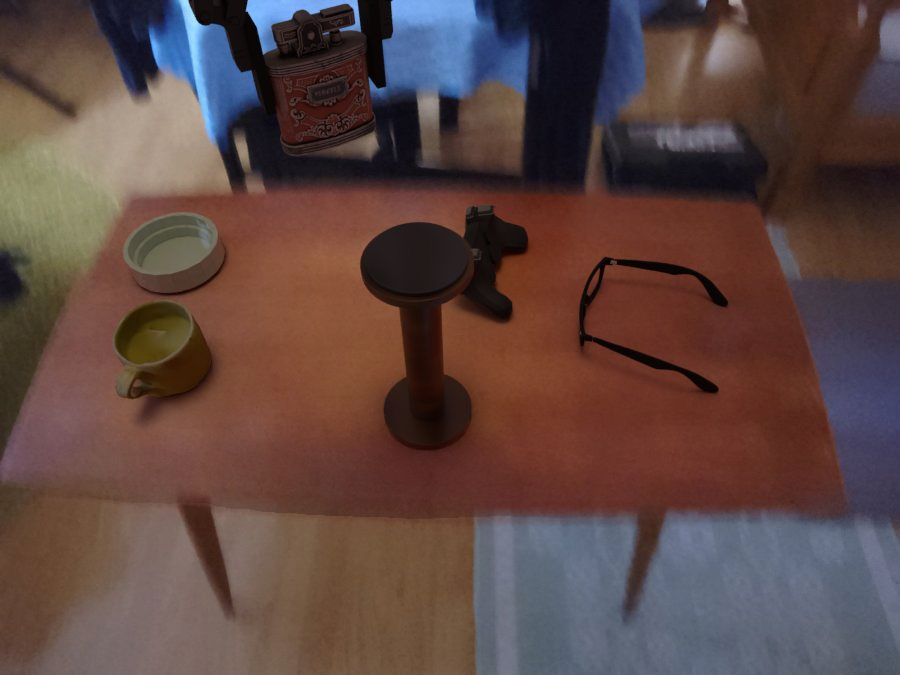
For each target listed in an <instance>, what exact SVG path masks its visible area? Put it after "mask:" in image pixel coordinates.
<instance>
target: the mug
mask: <svg viewBox="0 0 900 675" xmlns="http://www.w3.org/2000/svg"><path fill="white" fill-rule="evenodd" d="M111 342H112V349H113V353H114V355H115V356H116V357H117V359H118V360H119V362H120V363H121V364H122V365H123V366H124V369H122V371H120V372H119V374H118V375H117V377H116V379H115V389H116V395H117V396H118V397H120V398H122V399H128V400H136V399H140V398H143V397H144V396H146V395H147V396H151V397H156V398H157V397H160V398H161V397H168V396H172V395H175V394H182V393H183V394H184V393H185V392H189V391H190V390H192V389H193V388H195V387H197V386H198V385H199V384H200V382H202V380H203V379H204V378H205V377H206V376H207V374H208V372H209V371H210V367H211V364H212V354H211V351H210V350H211V349H210V347H209V344H208V343H207V342H208V341H207V340H206V337H205V335H204V334H203V331H202V329H201V326H200V325H199V323H198V322H197V321H196V318H195V317H194V315H193V314H192V312H191V310H190V309H189V308H188V307H187V306H186V305H184V304H183V303H180V302H178V301H176V300H172V299H167V298H164V299H153V300H149V301H146V302H144V303H141V304H140V305H137V306H135V307H134V308H132V309H131V310H130V311H129V312H128V313H126V314H125V315H124V316H123V317H122V318H121V319H120V321H119V323H118V324H117V326H116V327H115V330H114V332H113V334H112V339H111ZM136 381H139V383H140V385H136V386H134V384H135V382H136Z"/></svg>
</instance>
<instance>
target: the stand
mask: <svg viewBox="0 0 900 675" xmlns="http://www.w3.org/2000/svg"><path fill="white" fill-rule="evenodd" d="M359 270H360V276H361V280H362V282H363V285H364V286H365V288H366V289H367V291H368V292H369V293H370V294H371V295H372V296H373V297H375V298H376V299H377V300H378V301H380V302H382V303H384V304H386V305H390V306H392V307H394V308H395V307H396V308H398V310H399V317H400V318H399V319H400V320H399V321H400V329H401V330H400V331H401V338H402V346H403V358H404V365H405V366H404V367H405V377H403V378H402V379H400V380H398V381H397V382H396V383H395V384H394V385H392V387H391V388H390V389H389V391H388V393H387V394H386V396H385V399H384V403H383V408H382V409H383V417H384V423H385V426H386V428H387V430H388V432H389V433H390V435H391V436H392V437H393V438H394V439H395V440H396V441H398V442H399V443H400V444H402V445H404V446H406V447H408V448H411V449H413V450H417V451H419V450H420V451H433V450H434V451H435V450H439V449H443V448H446V447H448V446H450V445H452V444H454V443H455V442H457V441H458V440H459V439H460V438H461V437H462V436H463V435H464V434H465V432H466V431H467V430H468V428H469V426H470V423H471V419H472V410H473V409H472V408H473V407H472V400H471V397H470V394H469V392H468V390H467V388H466V387H465V386H464V385H463V384H462V383H461V382H460V381H459V380H457V379H456V378H455V377H452V376H451V375H448V374H445V367H444V366H445V365H444V336H443V311H442V310H443V309H442V305H444V304H446V303H448V302H450V301H453V300H454V299H456V298H457V297H458V296H459V295H461V294H460V293H462V292H463V291H464V290H465V288H466V287H467V286H468V284H469V283H470V281H471V279H472V276H473V272H474V257H473V252H472V250H471V248H470V246H469V244H468V243H467V242H466V240H465V239H464V238H463V236H462V235H461V234H459V233H457V232H456V231H455V230H453V229H450V228H448V227H447V226H444V225H441V224H437V223H433V222H426V221H425V222H424V221H412V222H404V223H401V224H397V225H394V226H391V227H389V228H386V230H384V231H382V232H380V233H379V234H377V235H376V236H374V237H373V238H372V239H371V240H370V241H369V242H368V243H367V245H366V246H365V247H364V249H363V251H362V253H361V256H360V261H359Z"/></svg>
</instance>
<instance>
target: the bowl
mask: <svg viewBox="0 0 900 675" xmlns="http://www.w3.org/2000/svg"><path fill="white" fill-rule="evenodd" d="M225 252H226V251H225V247H224V245H223V242H222V238H221V236H220V234H219V231H218V228H217V225H216V224H215V223H214V222H213V221H212V220H211V219H210V218H209V217H206V216H205V215H202V214H199V213H196V212H188V211H180V212H170V213H166V214H162V215H159V216H155V217H153V218H150V219H149V220H147V221H145V222H143V223H142V224H140V225H139V226H138V227H136V228H135V229H134V230H133V231H131V233H130V234H129V235H128V237H127V238H126V239H125V241H124V244H123V246H122V256H123V261H124V263H125V264H126V267H127V268H128V270H129V272H130V274H131V276H132V278H133V279H134V281H136V283H137V285H139V286H140V287H141V288H144V289H146V290H147V291H150V292H155V293H161V294H173V293H179V292H180V293H181V292H185V291H188V290H191V289H195V288H196V287H198V286H200V285H203V284H204V283H206V282H207V281H208V280H209V279H211V278H212V277H213V276H214V275H215V274H216V273H218V271H219V269H220V267H221V266H222V265H223V263H224V260H225V254H226V253H225Z"/></svg>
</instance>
